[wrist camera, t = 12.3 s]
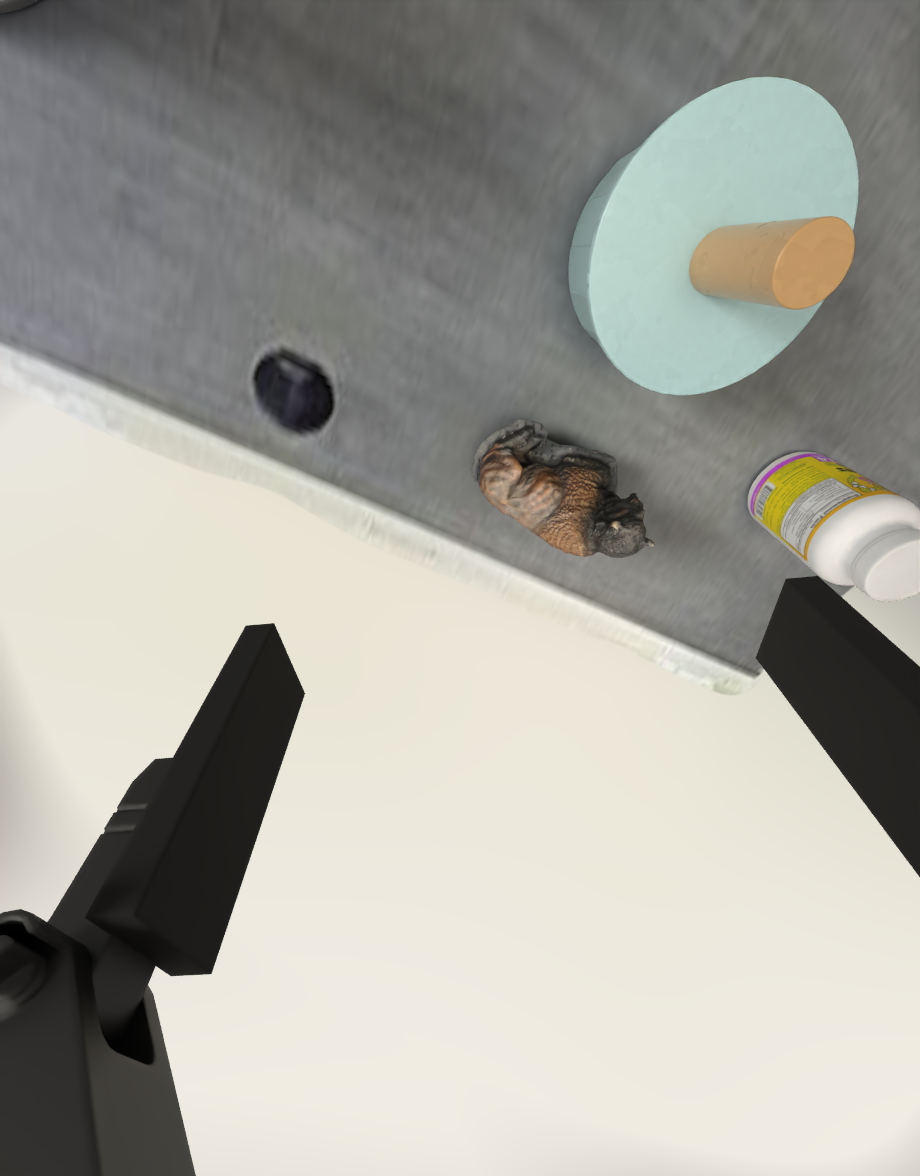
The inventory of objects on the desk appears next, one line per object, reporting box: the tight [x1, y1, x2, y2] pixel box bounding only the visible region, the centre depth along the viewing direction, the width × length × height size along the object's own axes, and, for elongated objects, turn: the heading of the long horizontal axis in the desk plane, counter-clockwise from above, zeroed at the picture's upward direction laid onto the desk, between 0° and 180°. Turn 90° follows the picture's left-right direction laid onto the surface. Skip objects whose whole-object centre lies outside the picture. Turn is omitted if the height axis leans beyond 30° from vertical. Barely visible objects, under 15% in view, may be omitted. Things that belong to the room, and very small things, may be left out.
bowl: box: [568, 146, 640, 345], centre depth 26 cm, size 11×11×8 cm
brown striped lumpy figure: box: [472, 419, 654, 558], centre depth 33 cm, size 12×7×10 cm, turn 73°
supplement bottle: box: [748, 451, 920, 602], centre depth 34 cm, size 7×7×13 cm
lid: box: [587, 77, 859, 395], centre depth 20 cm, size 13×13×9 cm
